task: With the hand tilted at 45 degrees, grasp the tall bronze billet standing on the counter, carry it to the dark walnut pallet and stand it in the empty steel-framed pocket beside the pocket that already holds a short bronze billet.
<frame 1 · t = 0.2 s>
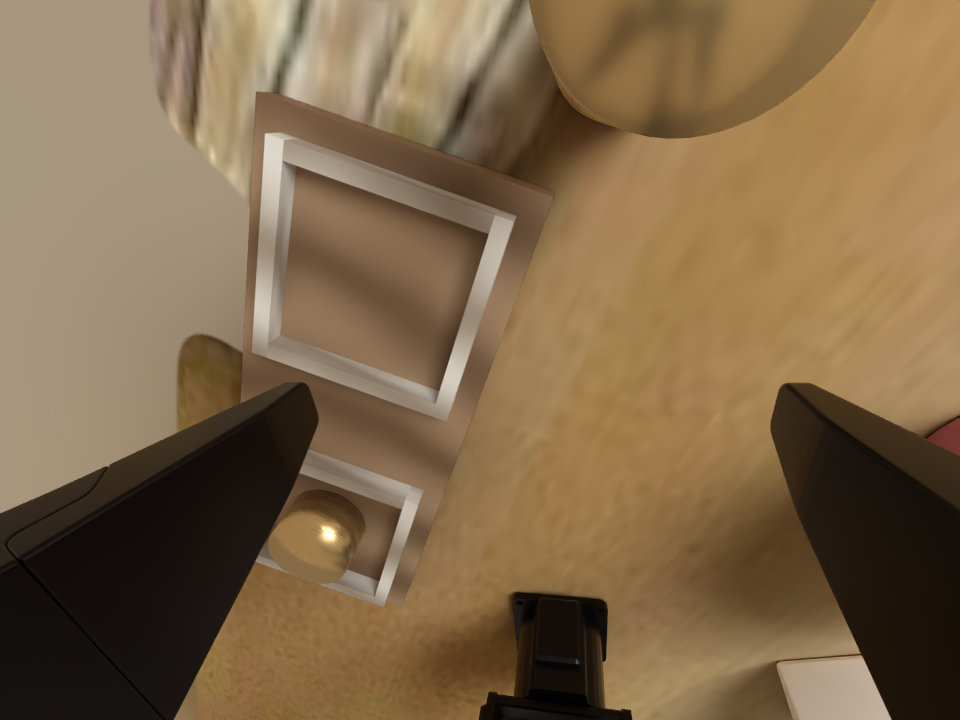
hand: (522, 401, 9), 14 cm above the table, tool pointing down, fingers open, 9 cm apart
medicine bottle: (838, 682, 32), on the table
short bronze billet: (329, 518, 31), resting on walnut pallet
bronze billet: (619, 48, 18), on the table
walnut pallet: (359, 406, 28), on the table
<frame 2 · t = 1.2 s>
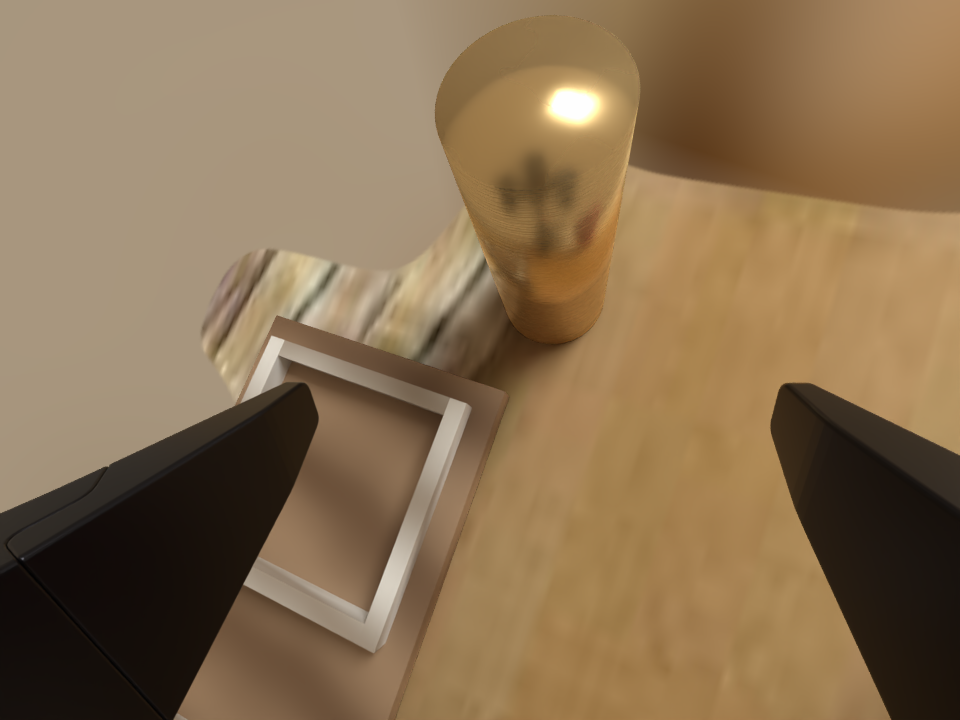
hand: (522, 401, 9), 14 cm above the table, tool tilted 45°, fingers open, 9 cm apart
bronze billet: (553, 297, 24), on the table
walnut pallet: (273, 652, 22), on the table
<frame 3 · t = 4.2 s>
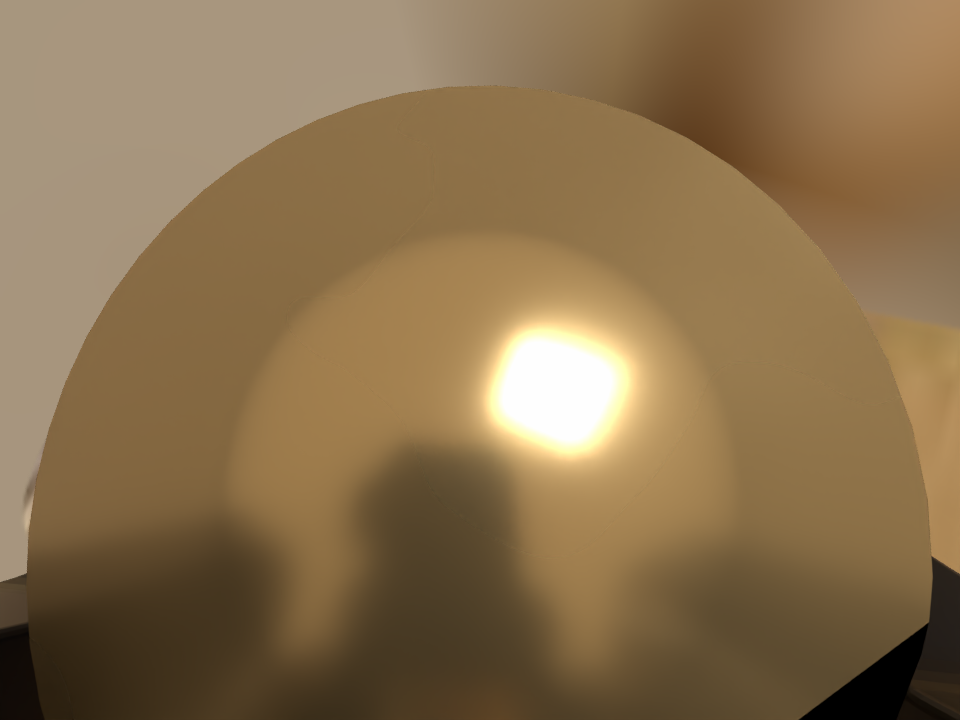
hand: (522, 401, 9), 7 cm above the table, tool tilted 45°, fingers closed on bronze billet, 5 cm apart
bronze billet: (542, 478, 15), on the table, touching gripper
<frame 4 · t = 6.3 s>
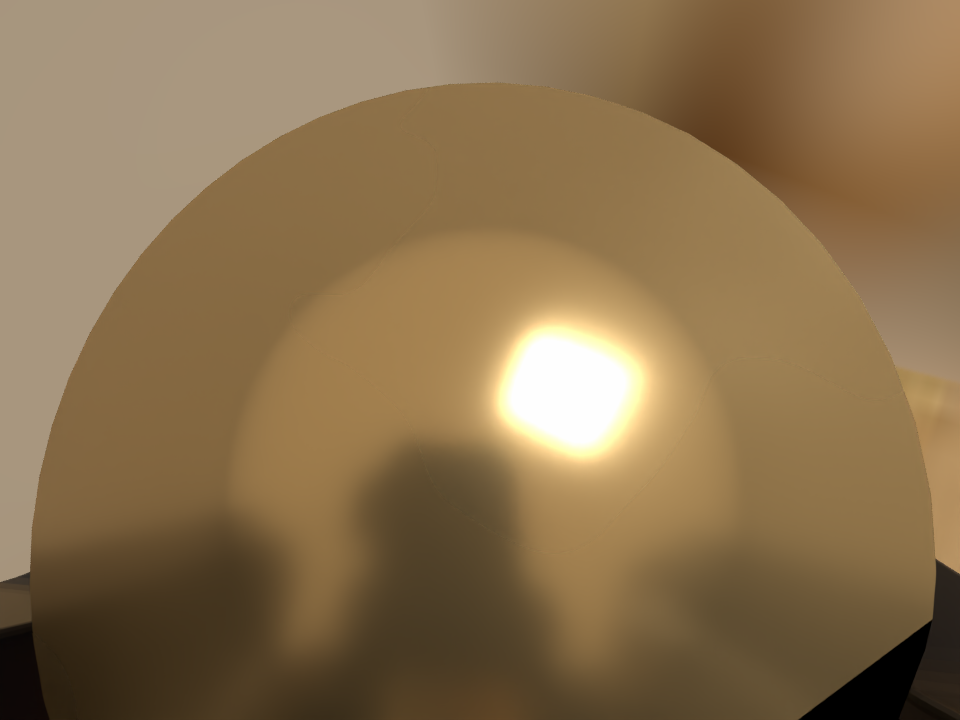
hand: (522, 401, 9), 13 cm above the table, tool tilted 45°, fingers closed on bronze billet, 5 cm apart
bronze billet: (543, 477, 15), point 7 cm above the table, touching gripper
when the fingers open (9 cm above the table, at t = 8.8 s): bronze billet stays where it is, resting on walnut pallet.
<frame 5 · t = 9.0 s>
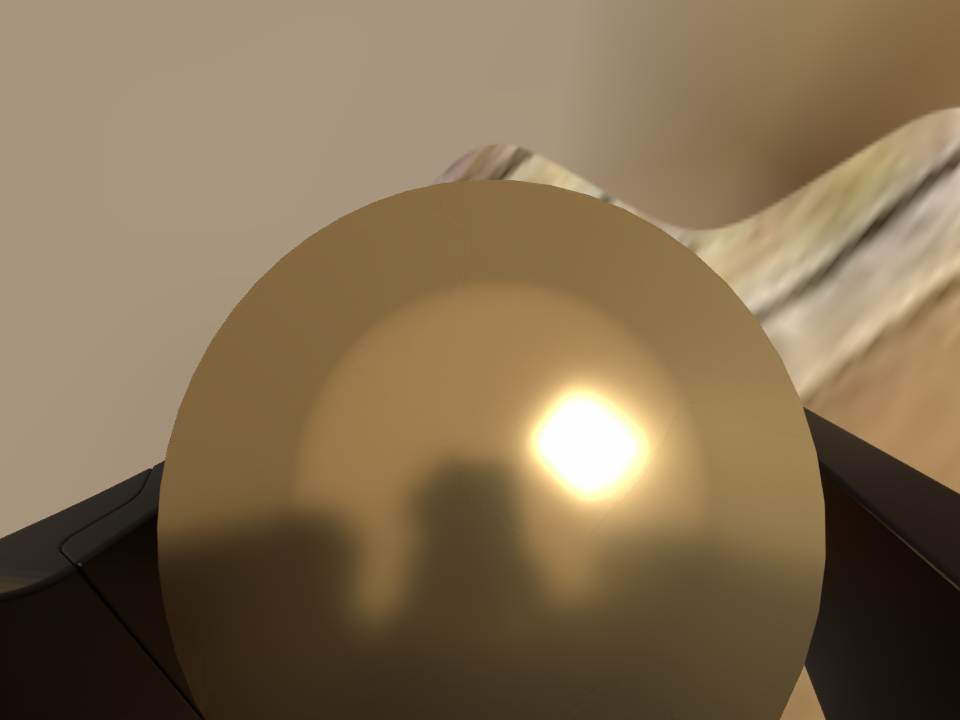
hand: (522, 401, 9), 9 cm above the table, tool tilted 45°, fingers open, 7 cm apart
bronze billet: (544, 480, 16), point 2 cm above the table, touching walnut pallet
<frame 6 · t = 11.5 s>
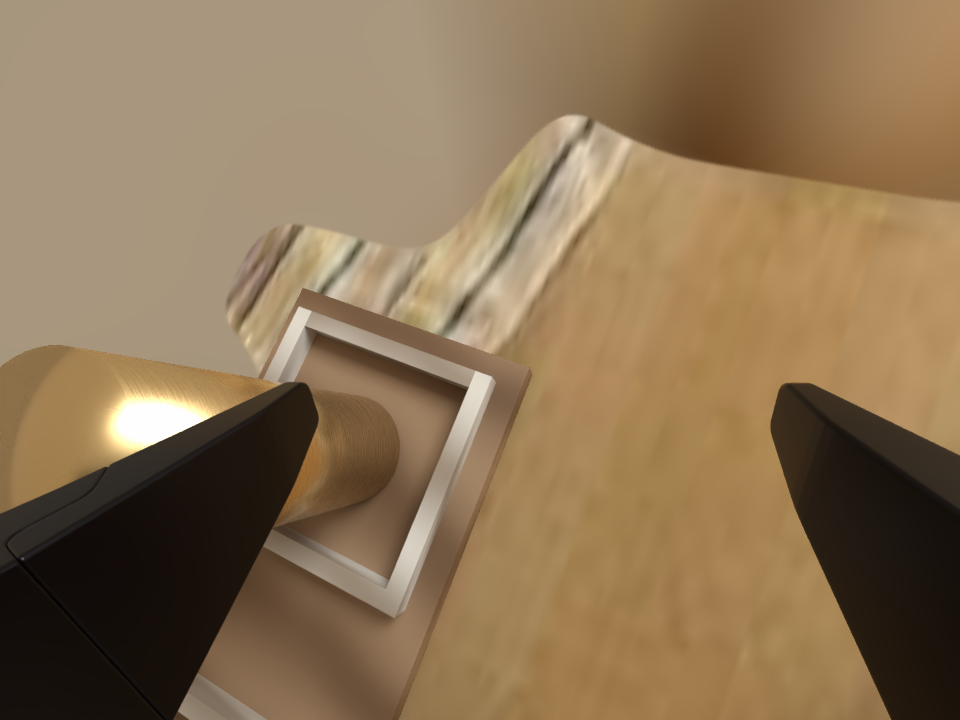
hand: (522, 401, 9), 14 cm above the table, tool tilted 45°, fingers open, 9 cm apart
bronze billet: (350, 448, 22), point 2 cm above the table, tilted 6°, touching walnut pallet
walnut pallet: (292, 618, 22), on the table
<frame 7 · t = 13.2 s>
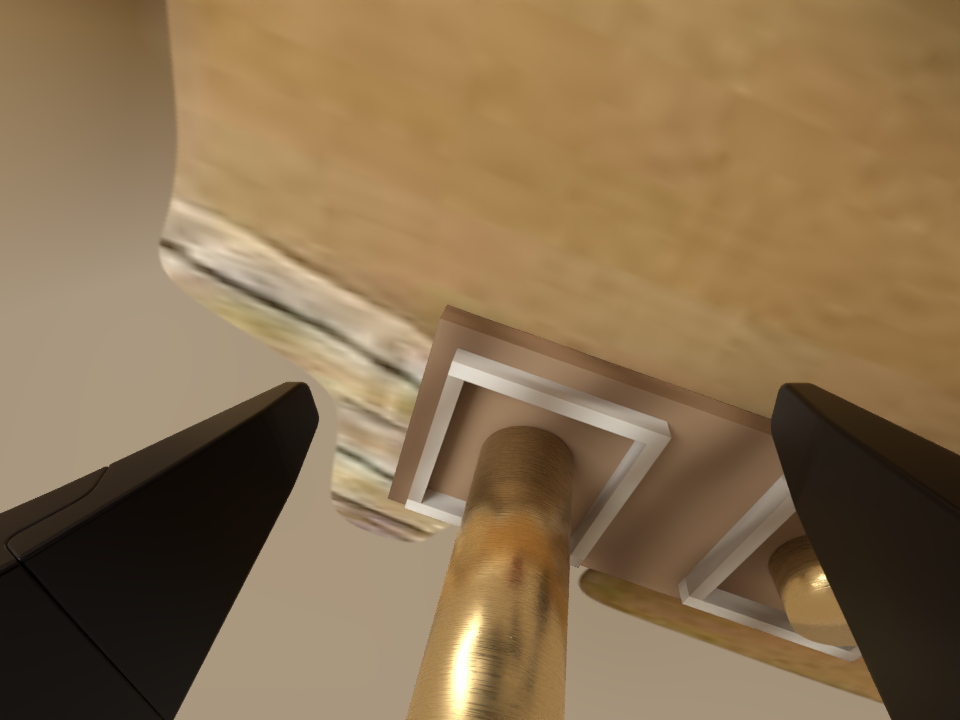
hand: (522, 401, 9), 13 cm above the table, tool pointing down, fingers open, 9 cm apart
short bronze billet: (819, 563, 25), resting on walnut pallet
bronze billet: (525, 462, 25), point 2 cm above the table, touching walnut pallet
walnut pallet: (668, 491, 27), on the table
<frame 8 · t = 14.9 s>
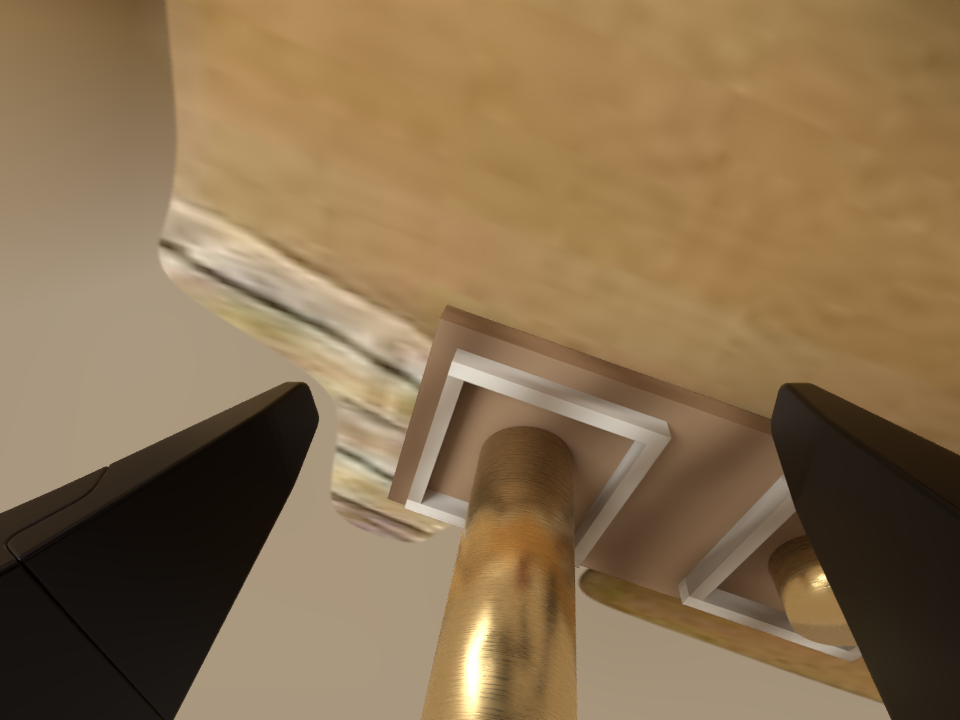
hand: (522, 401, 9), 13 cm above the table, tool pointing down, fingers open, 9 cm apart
short bronze billet: (819, 563, 25), resting on walnut pallet
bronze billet: (525, 462, 25), point 2 cm above the table, touching walnut pallet
walnut pallet: (668, 491, 26), on the table
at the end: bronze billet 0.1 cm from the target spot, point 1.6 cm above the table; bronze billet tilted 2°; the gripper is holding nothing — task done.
